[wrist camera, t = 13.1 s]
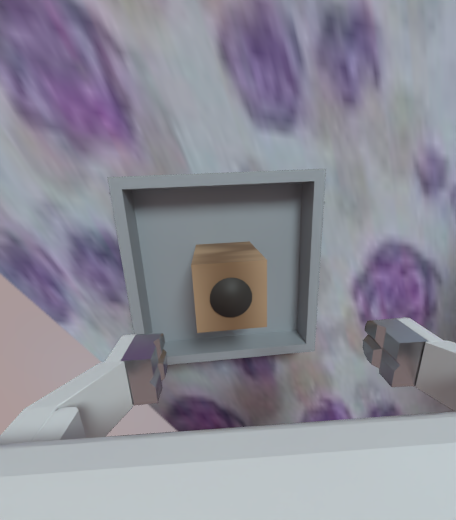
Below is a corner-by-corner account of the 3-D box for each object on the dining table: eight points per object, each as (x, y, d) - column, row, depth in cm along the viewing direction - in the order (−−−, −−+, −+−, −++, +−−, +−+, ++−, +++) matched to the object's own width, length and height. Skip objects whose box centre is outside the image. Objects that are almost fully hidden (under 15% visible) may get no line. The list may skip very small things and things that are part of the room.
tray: (308, 172, 19) (326, 168, 17) (301, 332, 23) (314, 351, 21) (123, 180, 18) (107, 177, 16) (148, 345, 22) (139, 367, 20)
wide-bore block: (249, 241, 20) (267, 260, 14) (250, 290, 21) (267, 327, 15) (195, 244, 19) (191, 265, 14) (200, 294, 21) (197, 333, 15)
